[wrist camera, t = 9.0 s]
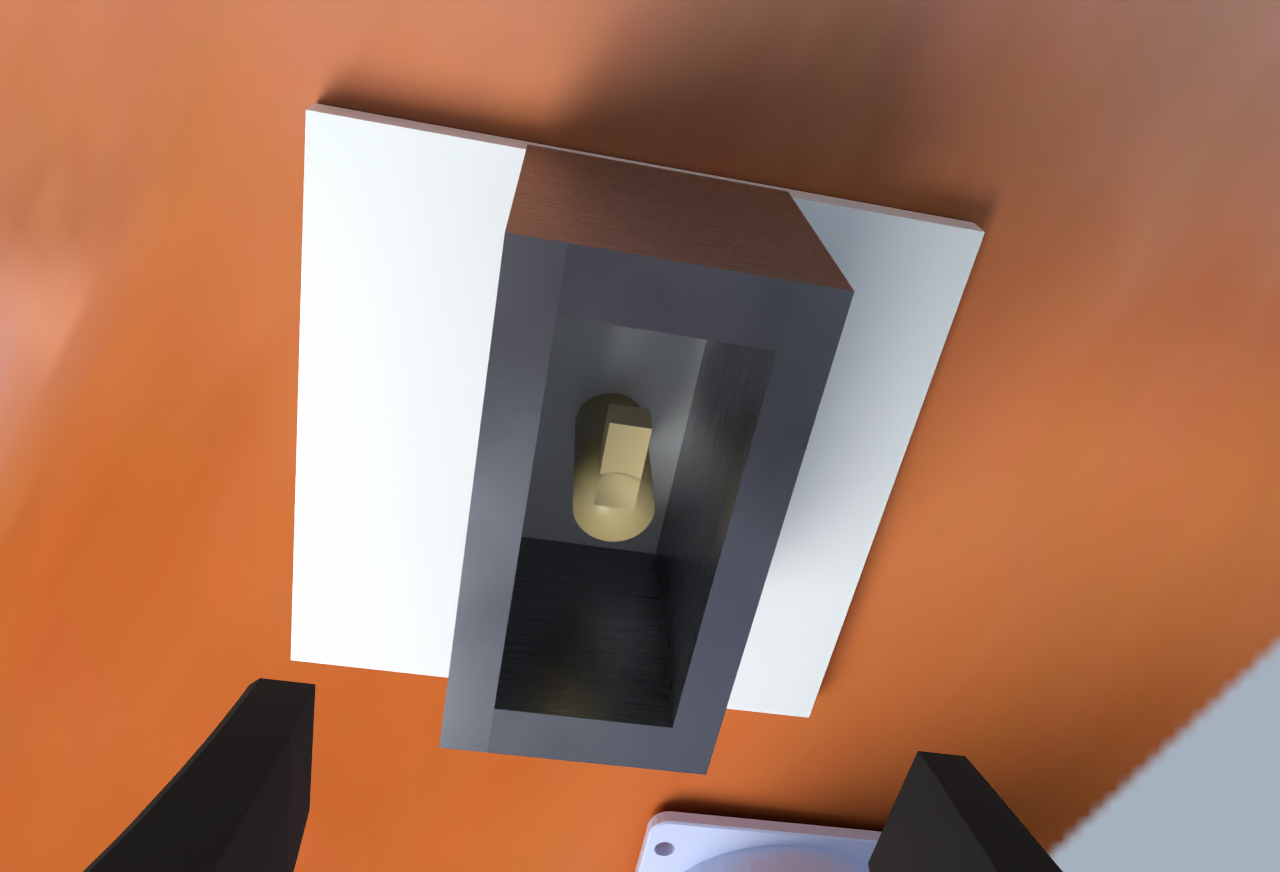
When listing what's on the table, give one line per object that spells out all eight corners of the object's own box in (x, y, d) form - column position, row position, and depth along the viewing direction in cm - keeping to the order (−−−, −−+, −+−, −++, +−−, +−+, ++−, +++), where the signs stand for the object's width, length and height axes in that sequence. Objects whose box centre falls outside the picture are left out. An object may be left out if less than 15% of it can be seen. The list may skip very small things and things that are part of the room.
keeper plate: (804, 699, 24) (836, 821, 21) (297, 642, 22) (249, 764, 19) (973, 222, 18) (1052, 290, 15) (314, 103, 17) (251, 150, 14)
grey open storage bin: (683, 595, 22) (706, 775, 17) (471, 569, 21) (439, 747, 17) (788, 191, 17) (854, 291, 13) (527, 144, 17) (504, 232, 12)
